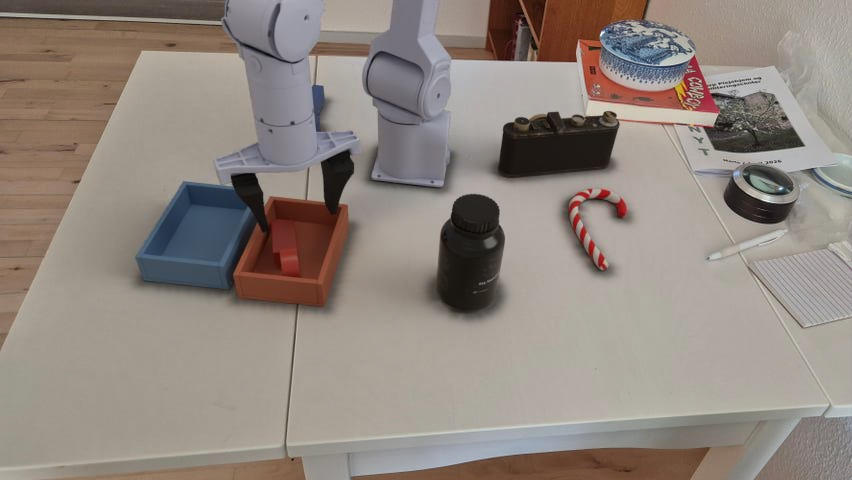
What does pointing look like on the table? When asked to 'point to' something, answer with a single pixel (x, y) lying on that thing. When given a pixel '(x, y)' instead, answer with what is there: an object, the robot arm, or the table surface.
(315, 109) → the blue spoon
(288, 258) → the red spoon
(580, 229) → the candy cane
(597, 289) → the table surface
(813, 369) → the table surface
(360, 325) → the table surface
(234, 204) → the blue bin
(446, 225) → the supplement bottle
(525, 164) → the camera
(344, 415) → the table surface
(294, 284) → the red bin
